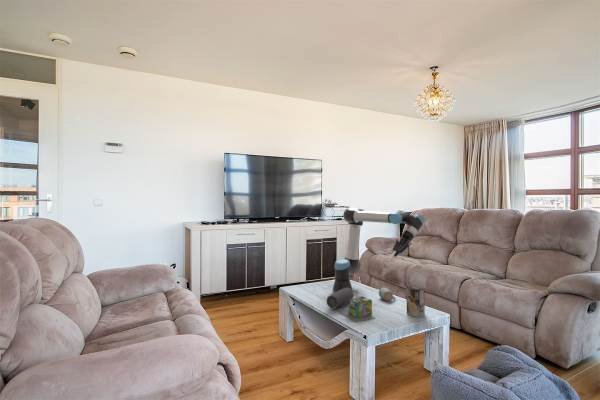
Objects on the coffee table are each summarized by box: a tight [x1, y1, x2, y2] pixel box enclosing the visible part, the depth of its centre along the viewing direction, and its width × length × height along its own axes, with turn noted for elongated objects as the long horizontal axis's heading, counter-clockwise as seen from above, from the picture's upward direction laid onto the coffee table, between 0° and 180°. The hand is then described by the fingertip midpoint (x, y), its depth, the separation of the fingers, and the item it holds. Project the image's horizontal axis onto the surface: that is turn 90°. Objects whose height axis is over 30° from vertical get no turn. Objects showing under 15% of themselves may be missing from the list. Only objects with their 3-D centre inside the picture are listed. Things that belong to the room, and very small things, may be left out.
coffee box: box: [405, 286, 426, 318], centre depth 195 cm, size 9×6×16 cm
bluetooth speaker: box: [326, 288, 354, 309], centre depth 213 cm, size 23×9×10 cm, turn 145°
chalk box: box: [346, 296, 373, 318], centre depth 195 cm, size 9×9×15 cm
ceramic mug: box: [378, 287, 396, 302], centre depth 225 cm, size 11×8×8 cm
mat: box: [336, 308, 375, 323], centre depth 195 cm, size 20×14×1 cm
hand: (390, 259), depth 215 cm, fingers closed
